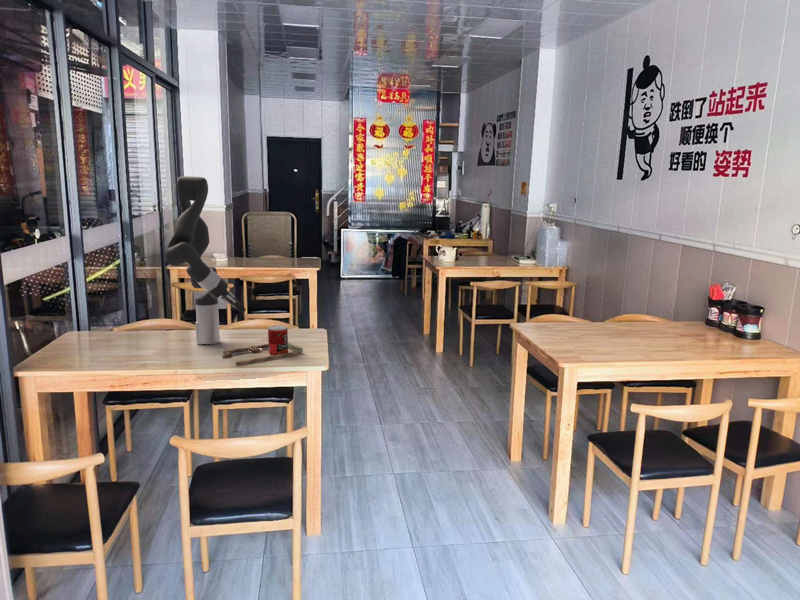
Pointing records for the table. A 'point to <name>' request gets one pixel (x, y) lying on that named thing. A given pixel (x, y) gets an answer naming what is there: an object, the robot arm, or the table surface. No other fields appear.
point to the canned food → (278, 339)
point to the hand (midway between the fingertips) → (243, 311)
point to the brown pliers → (255, 349)
